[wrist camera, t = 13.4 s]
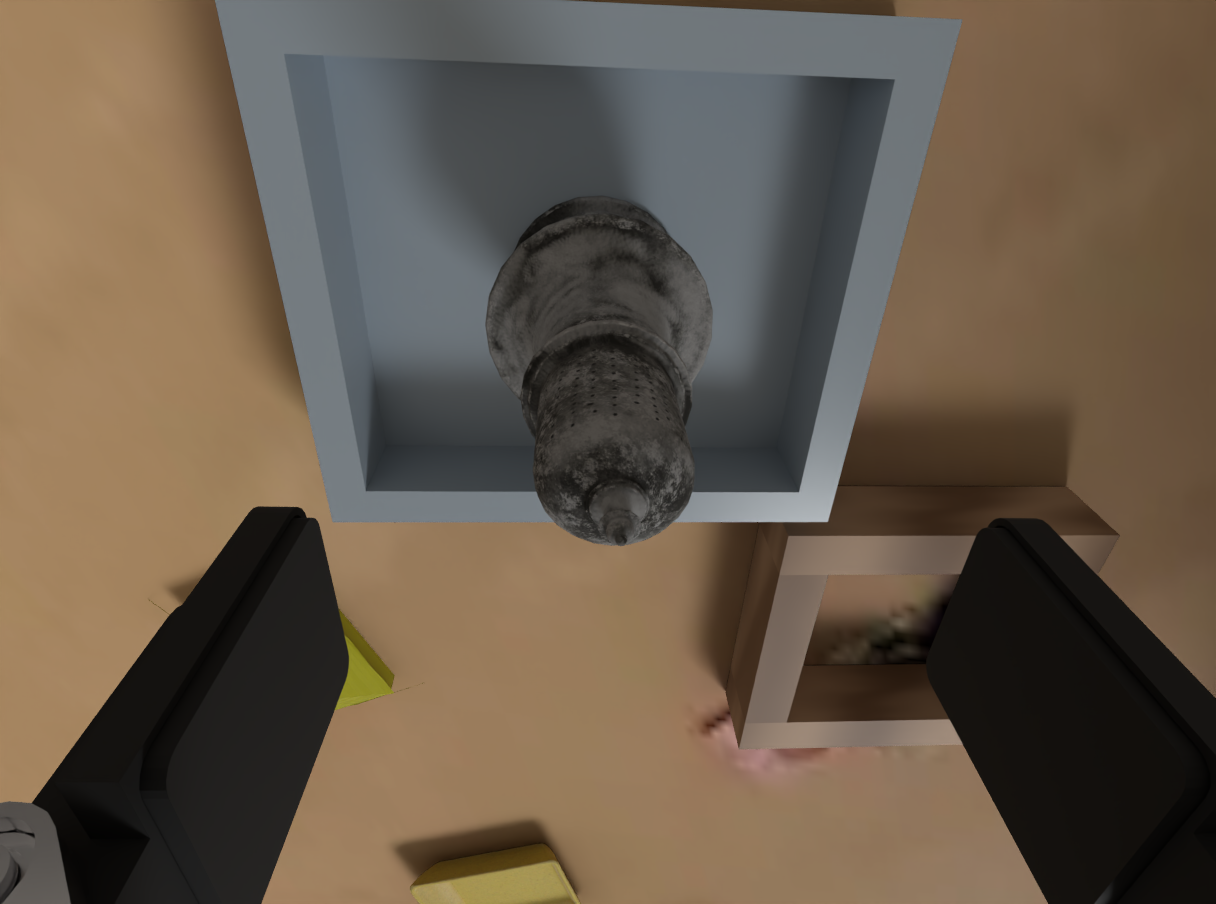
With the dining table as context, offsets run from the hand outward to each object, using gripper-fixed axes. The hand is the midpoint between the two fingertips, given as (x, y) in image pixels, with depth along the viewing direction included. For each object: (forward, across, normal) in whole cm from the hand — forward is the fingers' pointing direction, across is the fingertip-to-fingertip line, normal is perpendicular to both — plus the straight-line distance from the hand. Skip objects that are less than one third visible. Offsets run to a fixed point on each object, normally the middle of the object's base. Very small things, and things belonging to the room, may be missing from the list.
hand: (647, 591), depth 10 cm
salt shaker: (+13, +1, 0) cm, 13 cm away
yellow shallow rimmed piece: (+15, +5, +36) cm, 40 cm away
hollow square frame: (+14, -12, +13) cm, 23 cm away
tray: (+14, +1, -1) cm, 14 cm away
